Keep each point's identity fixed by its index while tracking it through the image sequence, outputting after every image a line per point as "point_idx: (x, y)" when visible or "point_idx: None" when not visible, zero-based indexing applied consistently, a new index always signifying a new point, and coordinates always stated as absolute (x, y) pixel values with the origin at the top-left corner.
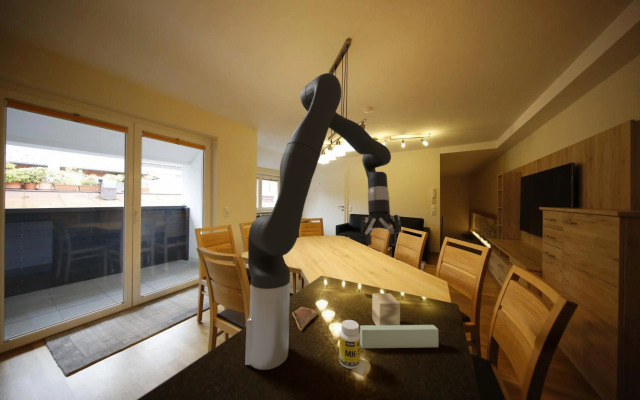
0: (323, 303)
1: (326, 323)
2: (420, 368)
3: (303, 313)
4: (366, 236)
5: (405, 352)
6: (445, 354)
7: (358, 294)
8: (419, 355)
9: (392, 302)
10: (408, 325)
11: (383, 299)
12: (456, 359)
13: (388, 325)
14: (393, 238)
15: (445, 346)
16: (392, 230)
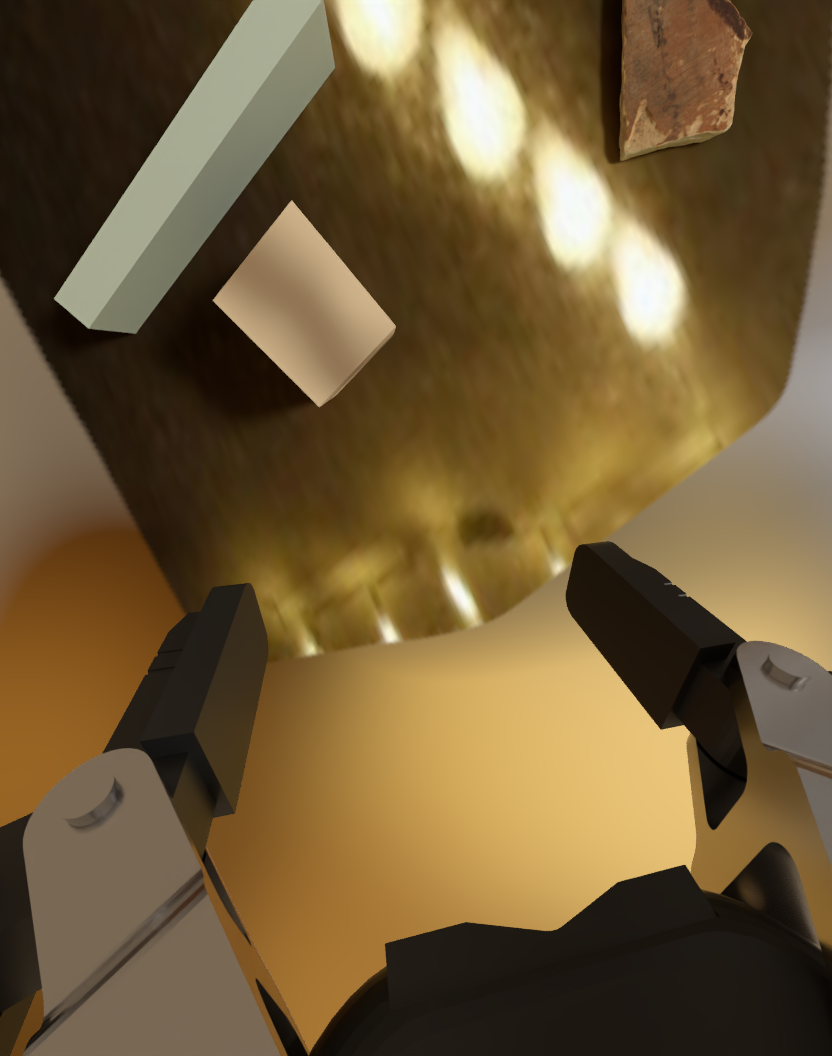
0: (642, 299)
1: (541, 112)
2: (76, 87)
3: (687, 53)
4: (716, 629)
5: None
6: None
7: (537, 508)
8: (124, 186)
9: (247, 280)
10: (156, 227)
11: (305, 284)
12: (30, 271)
13: (220, 140)
14: (168, 685)
15: (95, 336)
16: (46, 879)
